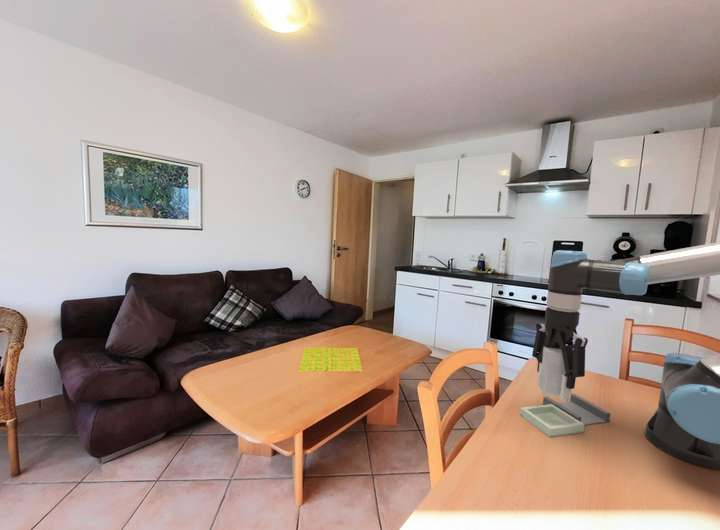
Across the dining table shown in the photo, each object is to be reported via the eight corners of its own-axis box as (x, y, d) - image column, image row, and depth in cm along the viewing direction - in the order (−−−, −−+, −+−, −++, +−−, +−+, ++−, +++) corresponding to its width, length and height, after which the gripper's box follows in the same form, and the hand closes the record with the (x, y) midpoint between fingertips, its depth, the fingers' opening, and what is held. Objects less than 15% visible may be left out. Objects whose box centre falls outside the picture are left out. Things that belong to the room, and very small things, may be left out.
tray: (583, 432, 81) (584, 424, 81) (549, 437, 78) (550, 429, 78) (551, 411, 90) (551, 404, 90) (520, 415, 88) (520, 407, 87)
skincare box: (563, 391, 85) (568, 349, 84) (568, 399, 81) (573, 355, 79) (538, 387, 87) (543, 346, 85) (542, 394, 83) (547, 351, 81)
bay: (609, 421, 86) (610, 413, 86) (576, 426, 83) (577, 417, 83) (573, 401, 97) (574, 393, 97) (542, 404, 94) (543, 396, 94)
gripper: (611, 318, 73) (599, 410, 75) (543, 300, 92) (535, 374, 94) (587, 318, 71) (575, 413, 73) (522, 300, 90) (515, 376, 92)
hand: (553, 391), depth 83 cm, fingers closed on skincare box, 7 cm apart
